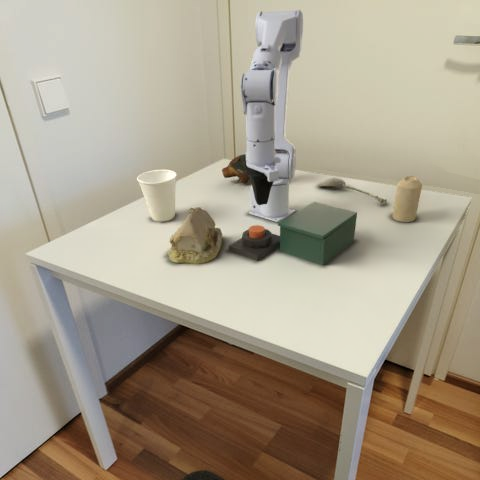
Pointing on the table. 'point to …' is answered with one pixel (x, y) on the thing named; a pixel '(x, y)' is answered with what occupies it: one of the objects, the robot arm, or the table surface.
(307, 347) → the table surface
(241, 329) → the table surface
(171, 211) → the cup
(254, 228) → the button
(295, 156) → the robot arm
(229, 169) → the decorative turtle
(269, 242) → the switch block
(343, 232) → the box
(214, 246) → the ceramic model
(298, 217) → the lid
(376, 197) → the soupspoon
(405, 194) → the candle
